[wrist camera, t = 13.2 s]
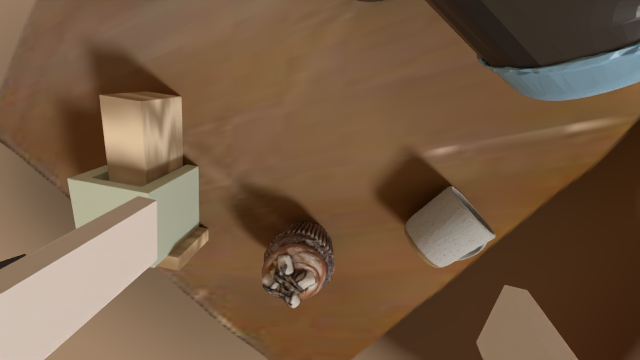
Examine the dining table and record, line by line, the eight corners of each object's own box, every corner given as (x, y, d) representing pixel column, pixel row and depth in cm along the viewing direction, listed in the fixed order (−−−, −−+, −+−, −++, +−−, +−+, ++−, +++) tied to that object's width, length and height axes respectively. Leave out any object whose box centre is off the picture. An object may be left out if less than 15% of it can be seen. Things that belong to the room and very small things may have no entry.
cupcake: (321, 281, 47) (309, 332, 38) (265, 253, 47) (240, 298, 38) (349, 234, 44) (344, 278, 34) (289, 204, 44) (268, 239, 34)
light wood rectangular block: (147, 91, 41) (99, 94, 34) (181, 96, 41) (140, 101, 33) (154, 197, 47) (114, 221, 39) (184, 203, 46) (149, 228, 39)
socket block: (134, 155, 45) (67, 178, 35) (198, 166, 44) (148, 193, 34) (139, 215, 48) (80, 252, 38) (199, 227, 47) (154, 267, 37)
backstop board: (131, 213, 48) (87, 239, 41) (208, 228, 47) (178, 257, 40) (132, 224, 49) (89, 252, 41) (208, 239, 48) (178, 270, 40)
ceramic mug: (396, 216, 42) (403, 247, 35) (444, 176, 39) (462, 200, 32) (449, 264, 43) (466, 303, 36) (498, 229, 40) (527, 263, 33)
